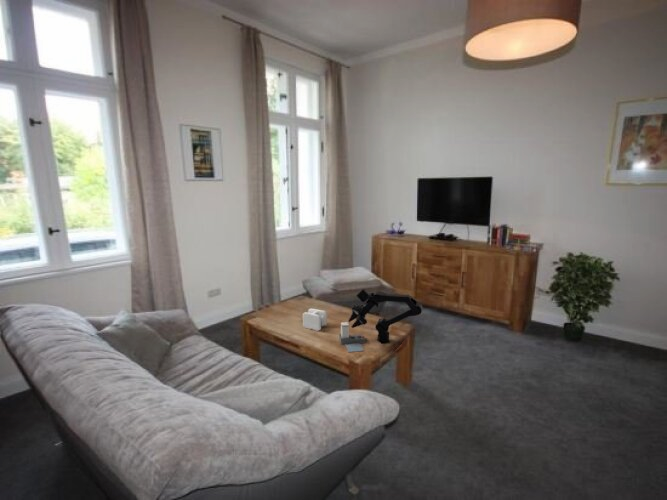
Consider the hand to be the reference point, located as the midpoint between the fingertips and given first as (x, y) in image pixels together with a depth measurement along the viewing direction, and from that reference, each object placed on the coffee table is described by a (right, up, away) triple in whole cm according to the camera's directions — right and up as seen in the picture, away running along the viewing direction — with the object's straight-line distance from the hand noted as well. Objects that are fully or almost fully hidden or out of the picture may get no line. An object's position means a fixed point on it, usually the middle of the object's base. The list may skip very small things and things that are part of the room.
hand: (350, 324), depth 225 cm
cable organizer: (-24, -7, +24) cm, 35 cm away
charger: (-3, -9, +1) cm, 10 cm away
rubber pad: (+2, -13, -6) cm, 15 cm away
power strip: (+1, -11, +3) cm, 12 cm away
